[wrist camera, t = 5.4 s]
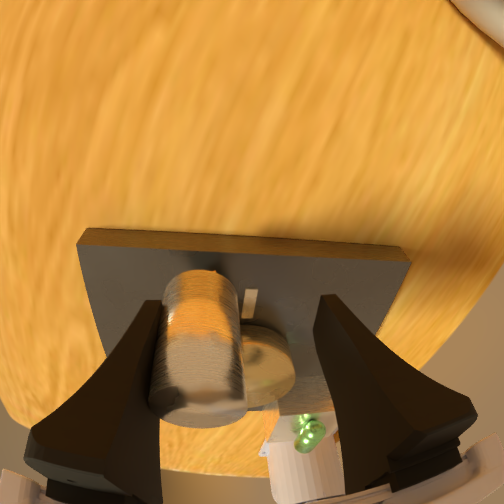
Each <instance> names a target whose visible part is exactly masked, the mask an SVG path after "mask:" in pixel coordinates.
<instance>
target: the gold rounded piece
mask: <svg viewBox="0 0 504 504" xmlns="http://www.w3.org/2000/svg"><path fill="white" fill-rule="evenodd" d="M295 379H296V376H295V371H294V366H293V362H292V357H291V353H290V348H289V345H288V343H287V341H286V340H285V339H284V338H283V336H281V335H280V334H279V333H277V332H275V331H273V330H271V329H268V328H265V327H261V326H256V325H240V321H239V310H238V298H237V292H236V289H235V287H234V286H233V284H232V283H231V282H230V281H229V280H228V279H227V278H225V277H224V276H222V275H220V274H218V273H216V270H215V271H208V270H190V271H186V272H183V273H181V274H178V275H177V276H175V277H174V278H173V279H171V280H170V282H169V283H168V284H167V286H166V288H165V292H164V297H163V302H162V312H161V318H160V324H159V329H158V334H157V340H156V346H155V352H154V359H153V366H152V374H151V382H150V390H149V399H148V406H149V408H150V410H151V411H152V412H153V413H154V414H155V415H156V416H157V417H159V418H160V419H162V420H164V421H166V422H169V423H172V424H175V425H178V426H183V427H189V428H215V427H221V426H225V425H229V424H231V423H234V422H236V421H238V420H239V419H241V418H242V417H243V416H244V415H245V414H246V412H247V410H248V408H253V407H258V406H262V405H265V404H268V403H271V402H273V401H276V400H278V399H279V398H281V397H283V396H284V395H285V394H287V393H288V392H289V391H290V390H291V388H292V387H293V385H294V383H295Z"/></svg>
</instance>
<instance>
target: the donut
mask: <svg viewBox="0 0 504 504" xmlns="http://www.w3.org/2000/svg"><path fill="white" fill-rule="evenodd" d="M450 1H451V2H452V3H453V4H454V5H455V6H456V7H457V8H458V10H459V11H460V12H461V13H462V14H463V15H465V16H466V17H467V18H468V19H469V20H470V21H471V22H472V23H473V24H475V25H476V26H477V27H478V28H479V29H480V30H481V31H482V32H484V33H485V34H486V35H488V36H489V37H490V38H492V39H493V40H494V41H495V42H497V43H498V44H499V45H500V46H502V47H503V48H504V0H450Z"/></svg>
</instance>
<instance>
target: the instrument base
mask: <svg viewBox="0 0 504 504" xmlns="http://www.w3.org/2000/svg"><path fill="white" fill-rule="evenodd" d="M76 246H77V251H78V256H79V261H80V265H81V270H82V274H83V278H84V282H85V286H86V290H87V294H88V298H89V302H90V305H91V309H92V312H93V316H94V319H95V323H96V326H97V329H98V332H99V336H100V339H101V342H102V345H103V348H104V351H105V354H106V357H108V355H109V354H110V353H111V351H112V350H113V349H114V347H115V346H116V345H117V343H118V342H119V340H120V339H121V337H122V336H123V334H124V333H125V331H126V330H127V328H128V327H129V325H130V324H131V322H132V321H133V319H134V317H135V316H136V314H137V313H138V311H139V309H140V308H141V306H142V304H143V302H144V301H145V300H162V302H163V297H164V292H165V288H166V286H167V284H168V283H169V282H170V280H171V279H173V278H174V277H175V276H177V275H178V274H181V273H183V272H186V271H190V270H208V271H215V270H216V273H218V274H220V275H222V276H224V277H225V278H227V279H228V280H229V281H230V282H231V283H232V284H233V286H234V287H235V289H236V292H237V298H238V310H239V321H240V325H256V326H261V327H265V328H268V329H271V330H273V331H275V332H277V333H279V334H280V335H281V336H283V338H284V339H285V340H286V341H287V343H288V345H289V348H290V353H291V357H292V362H293V366H294V371H295V376H296V379H295V383H294V385H293V387H292V388H291V390H290V391H289V392H288V393H287V394H285V395H284V396H283V397H281V398H279V399H278V400H276V401H273V402H271V403H268V404H265V405H262V406H258V407H253V408H248V410H247V411H262V412H263V420H264V427H265V435H266V442H267V443H277V442H289V441H294V448H295V449H296V451H298V452H299V453H303V454H306V453H309V452H311V451H312V450H313V449H314V448H315V447H316V446H317V445H318V443H319V442H320V441H321V440H322V439H323V438H324V437H329V436H330V434H331V433H332V432H333V431H334V430H335V429H336V427H337V426H338V425H337V420H336V415H335V410H334V405H333V402H332V398H331V395H330V392H329V389H328V386H327V383H326V380H325V377H324V374H323V371H322V368H321V365H320V362H319V359H318V355H317V352H316V347H315V342H314V337H313V331H312V330H313V326H314V322H315V318H316V314H317V309H318V305H319V301H320V297H321V295H327V294H336V295H337V296H338V297H339V298H340V299H341V300H342V301H343V303H344V304H345V305H346V306H347V307H348V308H349V309H350V310H351V311H352V312H353V313H354V314H355V316H356V317H357V318H358V319H359V320H360V321H361V322H362V323H363V324H364V325H365V326H366V327H367V328H368V329H369V330H370V331H371V332H372V333H373V334H374V335H375V334H376V332H377V331H378V329H379V327H380V325H381V323H382V321H383V319H384V318H385V316H386V314H387V312H388V310H389V308H390V306H391V304H392V302H393V300H394V298H395V296H396V294H397V292H398V290H399V288H400V286H401V284H402V282H403V279H404V277H405V275H406V273H407V271H408V269H409V266H410V264H411V261H410V259H409V258H408V257H407V256H406V254H405V253H404V252H403V251H402V249H401V248H400V247H394V246H381V245H368V244H355V243H341V242H326V241H312V240H297V239H282V238H266V237H250V236H233V235H215V234H197V233H178V232H159V231H138V230H116V229H93V228H86V230H85V231H84V233H83V234H82V236H81V237H80V239H79V241H78V242H77V244H76Z"/></svg>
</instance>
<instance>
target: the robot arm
mask: <svg viewBox="0 0 504 504" xmlns="http://www.w3.org/2000/svg"><path fill="white" fill-rule="evenodd" d="M161 312H162V300H145V301H144V302H143V304H142V306H141V308H140V309H139V311H138V313H137V314H136V316H135V317H134V319H133V321H132V322H131V324H130V325H129V327H128V328H127V330H126V331H125V333H124V334H123V336H122V337H121V339H120V340H119V342H118V343H117V345H116V346H115V347H114V349H113V350H112V351H111V353H110V354H109V355H108V357H107V358H106V359H105V361H104V362H103V363H102V364H101V366H100V367H99V368H98V369H97V370H96V372H95V373H94V374H93V375H92V376H91V377H90V378H89V379H88V380H87V381H86V382H85V383H84V385H83V386H82V387H81V388H80V389H79V390H78V391H77V392H76V393H75V394H74V395H72V396H71V397H70V398H69V399H68V400H67V401H66V402H64V403H63V404H62V405H61V406H60V407H59V408H58V409H56V410H55V411H54V412H53V413H51V414H50V415H48V416H47V417H46V418H44V419H43V420H41V421H40V422H39V423H37V424H36V425H34V426H33V427H31V430H30V433H29V436H28V441H27V445H26V449H25V454H24V461H25V463H26V464H27V465H28V466H30V467H31V468H33V469H34V470H36V471H37V472H39V473H40V474H42V475H43V476H45V477H47V478H48V481H47V487H45V486H42V485H39V484H38V483H37V482H35V481H34V480H32V479H30V478H27V477H25V476H23V475H20V474H17V473H15V472H12V471H9V470H7V469H5V468H4V469H3V470H2V475H1V480H0V504H163V497H162V487H161V474H160V446H159V428H160V418H159V417H157V416H156V415H155V414H154V413H153V412H152V411H151V410H150V408H149V406H148V399H149V390H150V382H151V374H152V366H153V359H154V352H155V346H156V340H157V334H158V329H159V324H160V318H161ZM312 331H313V337H314V342H315V347H316V352H317V355H318V359H319V362H320V365H321V368H322V371H323V374H324V377H325V380H326V383H327V386H328V389H329V392H330V395H331V398H332V402H333V405H334V410H335V415H336V420H337V425H338V426H337V427H336V429H335V430H334V431H333V432H332V433H331V434H330V436H329V437H324V438H323V439H322V440H321V441H320V442H319V443H318V445H317V446H316V447H315V448H314V449H313V450H312V451H311V452H309V453H306V454H303V453H299V452H298V451H296V449H295V448H294V441H289V442H277V443H267V442H266V438H265V441H264V443H263V445H262V447H261V449H260V451H259V456H267V461H268V468H269V476H270V483H271V490H272V495H273V498H274V500H275V501H276V502H277V504H477V503H479V502H480V501H481V500H483V499H484V498H486V497H487V496H488V495H490V494H491V493H493V492H494V491H496V490H497V489H498V488H500V487H501V486H502V485H504V449H503V447H502V444H501V442H500V440H499V438H498V435H497V433H493V434H491V435H489V436H488V437H486V438H484V439H482V440H480V441H479V442H477V443H475V444H474V445H473V446H471V447H470V448H468V449H467V450H466V451H465V452H463V453H461V454H460V453H459V451H458V448H457V447H458V446H459V445H460V441H459V438H458V437H459V436H460V435H461V434H462V433H463V432H465V431H466V430H467V429H468V428H469V427H470V426H471V425H472V424H473V423H474V422H475V421H476V420H477V417H478V414H477V412H476V410H475V408H474V406H473V404H472V402H471V400H470V398H469V397H467V396H465V395H463V394H460V393H458V392H456V391H454V390H451V389H449V388H447V387H445V386H443V385H441V384H439V383H438V382H436V381H434V380H432V379H431V378H429V377H427V376H426V375H424V374H423V373H421V372H420V371H418V370H417V369H415V368H414V367H412V366H411V365H409V364H408V363H407V362H405V361H404V360H403V359H401V358H400V357H399V356H398V355H396V354H395V353H394V352H393V351H391V350H390V349H389V348H388V347H387V346H386V345H385V344H384V343H382V342H381V341H380V340H379V339H378V338H377V337H376V336H375V335H374V334H373V333H372V332H371V331H370V330H369V329H368V328H367V327H366V326H365V325H364V324H363V323H362V322H361V321H360V320H359V319H358V318H357V317H356V316H355V314H354V313H353V312H352V311H351V310H350V309H349V308H348V307H347V306H346V305H345V304H344V303H343V301H342V300H341V299H340V298H339V297H338V296H337V295H336V294H327V295H321V297H320V301H319V305H318V309H317V314H316V318H315V322H314V326H313V330H312ZM337 430H338V431H339V438H340V444H341V451H342V459H343V469H344V476H343V472H342V469H341V464H340V460H339V456H338V452H337V448H336V444H335V440H334V436H333V435H334V434H335V432H336V431H337Z"/></svg>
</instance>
